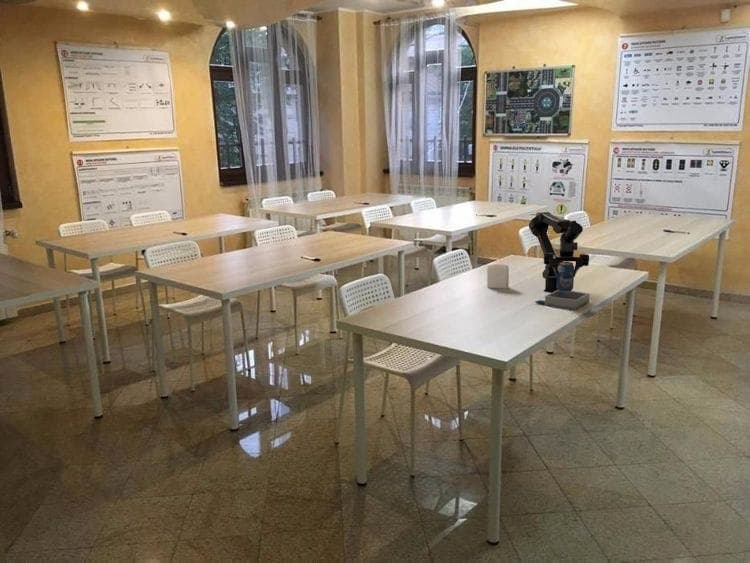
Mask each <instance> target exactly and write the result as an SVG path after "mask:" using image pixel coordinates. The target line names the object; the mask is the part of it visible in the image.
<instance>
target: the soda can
mask: <svg viewBox="0 0 750 563" xmlns="http://www.w3.org/2000/svg"><path fill="white" fill-rule="evenodd" d="M574 269H575V265H574V263H573V262H570V261H563V262H560V263H559V265H558V268H557V271H558V274H557V289H558V290H559V291H561V292H570V291H573V289H574V282H575V281H574V280H575V277H574Z"/></svg>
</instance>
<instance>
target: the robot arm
mask: <svg viewBox="0 0 750 563" xmlns="http://www.w3.org/2000/svg"><path fill="white" fill-rule="evenodd" d="M549 226H551V227H552V231H553V232H554V233H556V234H561V235H560V238H559V243H560V244H559V255H556V252H555V249H554V247H553V245H552V242H551V239H550V238H549V235H548V231H549ZM528 228H529V230H530V233H531V234H532V235H533V236H535V237H536V238H537V241H538V242H539V246H540V249H541V250H542V253H543V264H544V265H545V266H544V268H545V269H543V271H542V273H541V274H542V275H541V276H542V278H543V279H545V281H544V282H545V283H544V284H545V285H544V286H545V288H544V289H543V291H544V292H547V293H552V292H554V291H556V290H558V289H557V274H558V271H557V268H558V265H559V263H560V262H572V263H573V262H574V263H575V264H574V278H575V277H576V275H577V273H578V271H579V270H580V268H583V267H588V266H589V264H590V255H589V254H588V253H585V254H584V253H579V256H574V253H575V252H574V251H578V245H579V244H578V242H577V241H576V240H577V239H578V238H579V236H580V235H581V234H582V232H583V230H584V228H583V225H581V224H580V223H579V222H577V220H570V219H564V218H559V217H557V216H555V215H554V214H551V212H549V211H547V212H546V211H544V212H543V211H542V212H539V213H538V214H537V215H536V216H535V217H533V218H532V219H531V220H530V221H529V223H528ZM575 241H576V242H575Z"/></svg>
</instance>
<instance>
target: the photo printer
mask: <svg viewBox="0 0 750 563" xmlns="http://www.w3.org/2000/svg"><path fill="white" fill-rule="evenodd" d="M486 269H487V270H486V273H487V274H486V287H487V288H488V289H507V290H508V289H509V287H510V285H509V282H510V281H509V278H510V277H509V274H510V270H509V265H508V264H507V263H504V262H492V263H491V262H490V263H488V264H487V268H486Z"/></svg>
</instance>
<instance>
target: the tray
mask: <svg viewBox="0 0 750 563" xmlns="http://www.w3.org/2000/svg"><path fill="white" fill-rule="evenodd" d="M589 303H590V293H587V292H581V291H575V290H572V291H570V292H561V291H559V290H556V291H554V292H549V293H548V294H546V295H544V305H545V306H548V305H549V307H555V308H559V307H560V308H561V309H565V308H567V310H570V311H571V310H572V311H578V310H579V309H581V308H583V307H584V306H586V305H587V304H589Z"/></svg>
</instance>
